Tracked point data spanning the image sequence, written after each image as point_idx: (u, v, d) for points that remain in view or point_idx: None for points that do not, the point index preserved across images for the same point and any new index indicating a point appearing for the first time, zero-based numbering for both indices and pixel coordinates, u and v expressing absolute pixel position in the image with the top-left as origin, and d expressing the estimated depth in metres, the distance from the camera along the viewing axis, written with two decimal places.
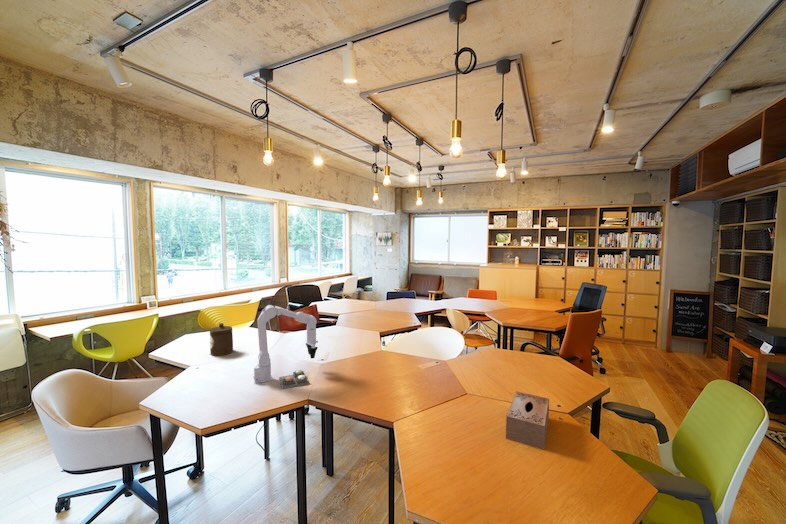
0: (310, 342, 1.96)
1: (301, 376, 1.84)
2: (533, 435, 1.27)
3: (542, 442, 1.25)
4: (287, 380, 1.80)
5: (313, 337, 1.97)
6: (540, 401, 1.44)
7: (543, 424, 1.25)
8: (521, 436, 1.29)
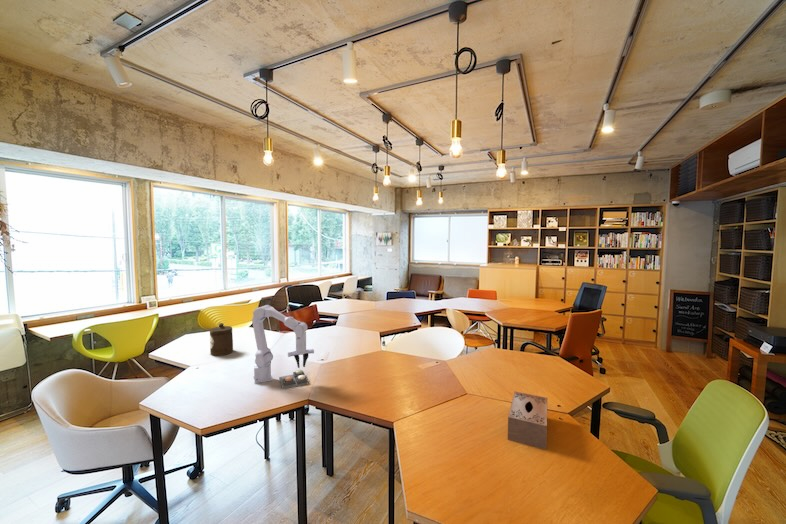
0: (296, 350, 1.83)
1: (301, 376, 1.84)
2: (535, 436, 1.26)
3: (544, 442, 1.25)
4: (287, 380, 1.80)
5: (296, 346, 1.81)
6: (539, 401, 1.44)
7: (545, 424, 1.25)
8: (523, 436, 1.28)
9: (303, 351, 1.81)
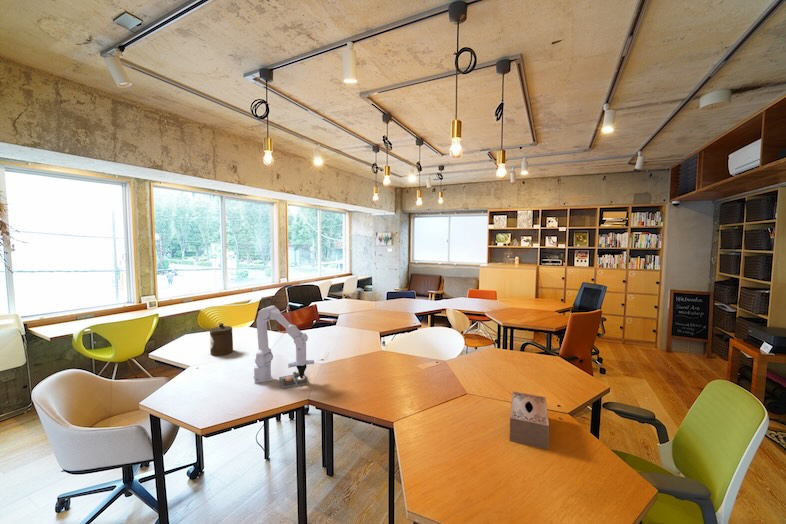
0: (296, 361, 1.83)
1: None
2: (537, 436, 1.26)
3: (546, 442, 1.25)
4: (287, 380, 1.80)
5: (296, 357, 1.81)
6: (538, 400, 1.44)
7: (547, 424, 1.25)
8: (525, 437, 1.28)
9: (303, 362, 1.81)
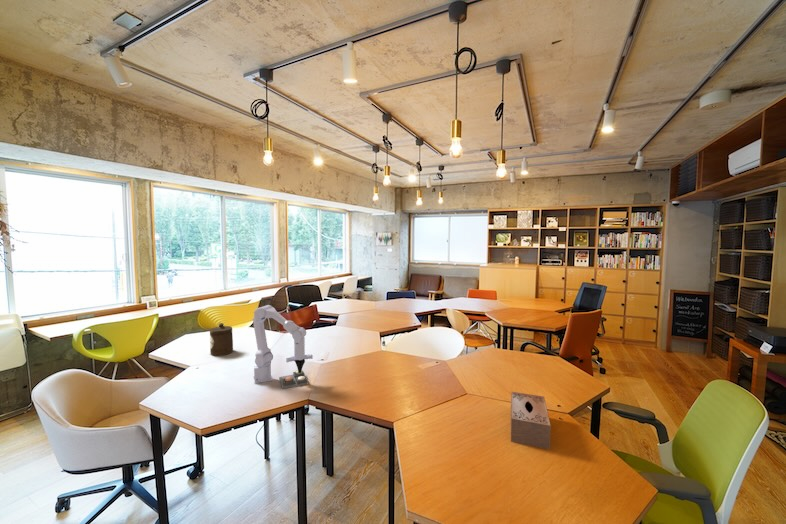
0: None
1: (301, 377, 1.84)
2: (539, 436, 1.26)
3: (548, 442, 1.25)
4: (287, 380, 1.80)
5: (295, 352, 1.81)
6: (537, 400, 1.45)
7: (548, 424, 1.26)
8: (526, 437, 1.28)
9: (301, 356, 1.81)
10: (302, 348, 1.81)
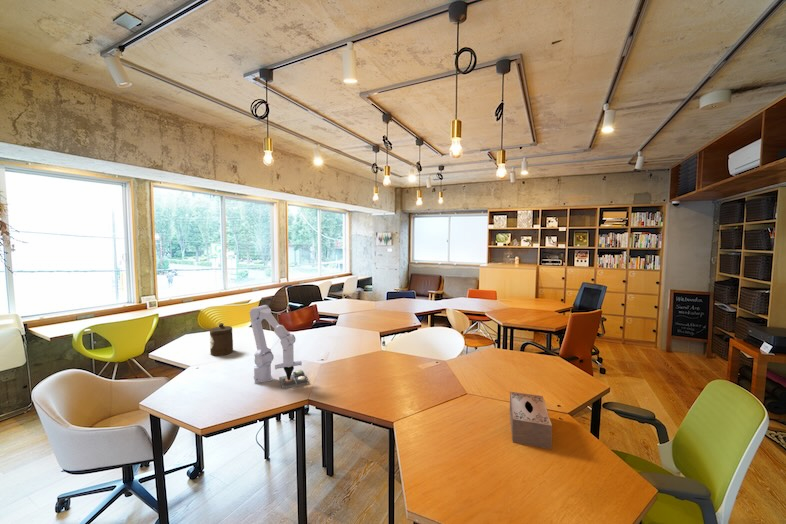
0: None
1: (301, 377, 1.84)
2: (540, 436, 1.26)
3: (549, 442, 1.25)
4: (287, 381, 1.80)
5: (283, 358, 1.79)
6: (536, 400, 1.45)
7: (550, 424, 1.26)
8: (528, 438, 1.28)
9: (290, 363, 1.79)
10: (290, 355, 1.79)
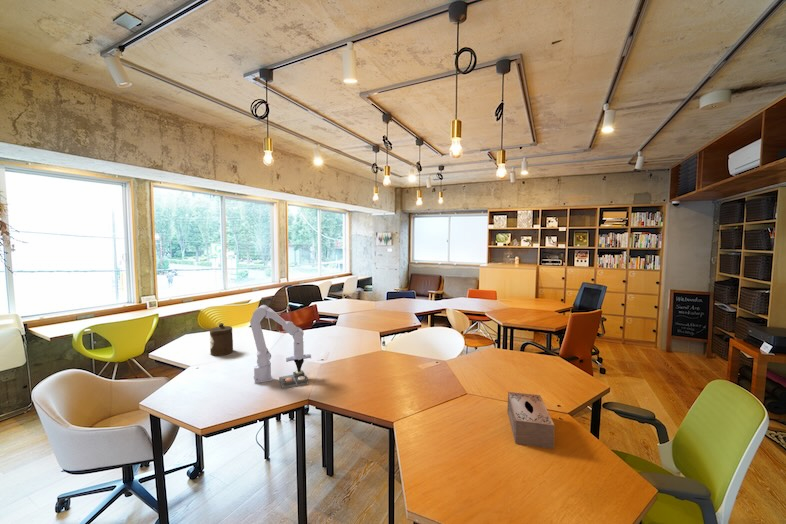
0: None
1: (301, 377, 1.84)
2: (543, 436, 1.26)
3: (552, 441, 1.25)
4: (287, 381, 1.80)
5: (294, 351, 1.89)
6: (535, 399, 1.45)
7: (552, 423, 1.26)
8: (531, 438, 1.27)
9: (300, 356, 1.89)
10: (302, 347, 1.90)
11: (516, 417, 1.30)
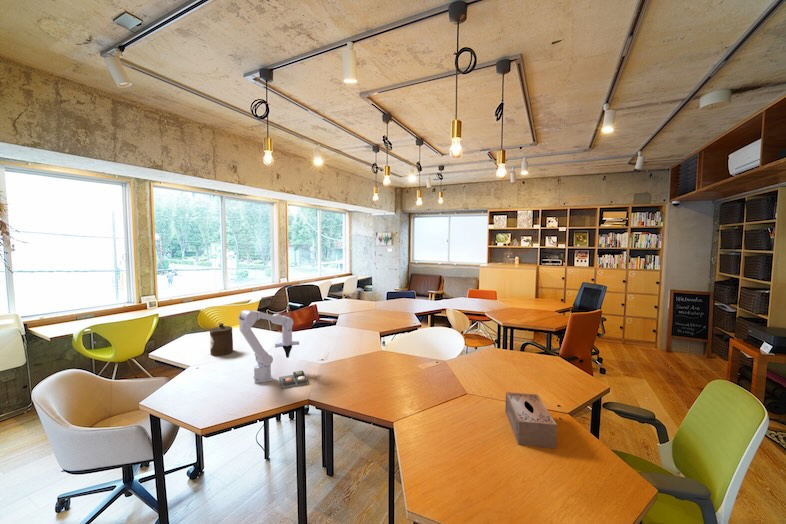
0: None
1: (301, 377, 1.84)
2: (545, 436, 1.26)
3: (554, 441, 1.26)
4: (287, 381, 1.80)
5: (282, 338, 1.97)
6: (533, 399, 1.46)
7: (554, 423, 1.26)
8: (533, 439, 1.27)
9: (289, 342, 1.97)
10: (291, 333, 2.00)
11: (518, 418, 1.30)
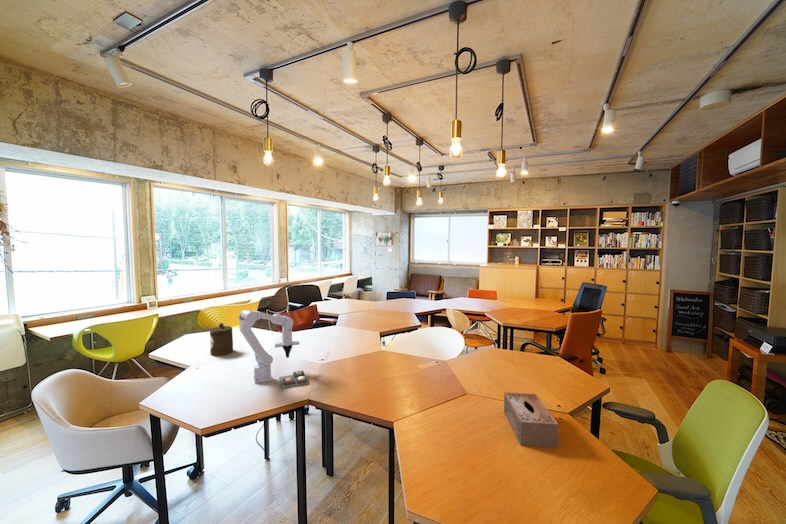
0: None
1: (301, 377, 1.84)
2: (547, 436, 1.26)
3: (556, 440, 1.26)
4: (287, 381, 1.80)
5: (282, 338, 1.97)
6: (532, 398, 1.46)
7: (556, 422, 1.27)
8: (535, 439, 1.27)
9: (289, 342, 1.97)
10: (291, 333, 2.00)
11: (520, 418, 1.29)
